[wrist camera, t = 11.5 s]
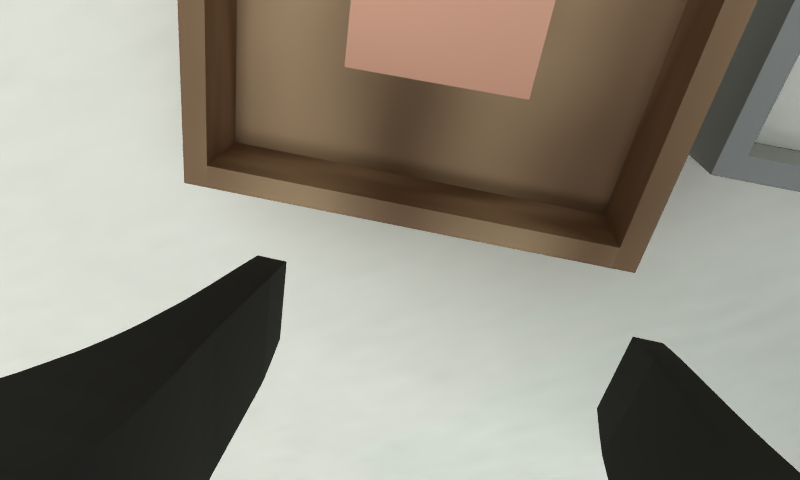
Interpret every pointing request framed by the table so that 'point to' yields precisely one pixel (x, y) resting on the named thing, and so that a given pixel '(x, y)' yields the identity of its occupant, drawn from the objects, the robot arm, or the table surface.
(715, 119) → the grey square tray
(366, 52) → the brick block
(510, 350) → the table surface
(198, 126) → the walnut bin
